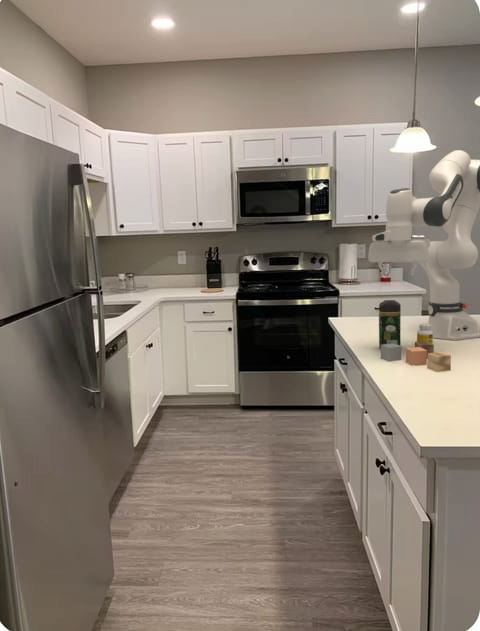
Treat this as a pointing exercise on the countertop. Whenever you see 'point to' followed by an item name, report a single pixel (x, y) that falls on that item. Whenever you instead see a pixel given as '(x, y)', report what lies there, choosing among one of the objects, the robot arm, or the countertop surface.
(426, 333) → the supplement bottle
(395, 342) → the coffee jar
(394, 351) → the grey cube
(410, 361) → the terracotta cube
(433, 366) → the oak cube
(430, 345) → the walnut cube
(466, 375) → the countertop surface
